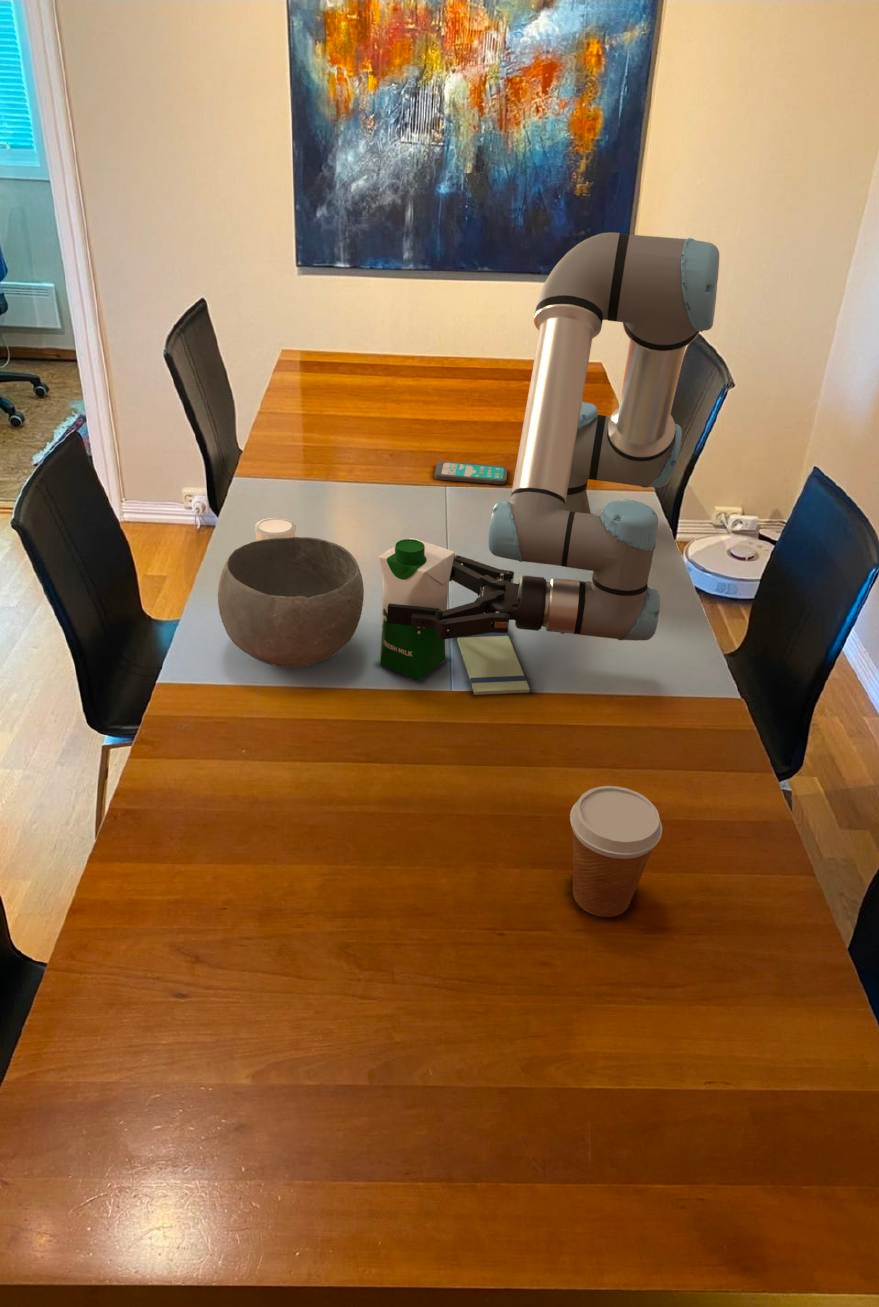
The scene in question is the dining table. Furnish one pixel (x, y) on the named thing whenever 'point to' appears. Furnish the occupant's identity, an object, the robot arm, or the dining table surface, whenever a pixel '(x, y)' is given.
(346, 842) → the dining table surface
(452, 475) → the smartphone
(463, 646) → the tea towel
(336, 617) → the bowl
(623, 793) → the disposable coffee cup
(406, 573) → the milk carton
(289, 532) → the beige tapered cylinder
